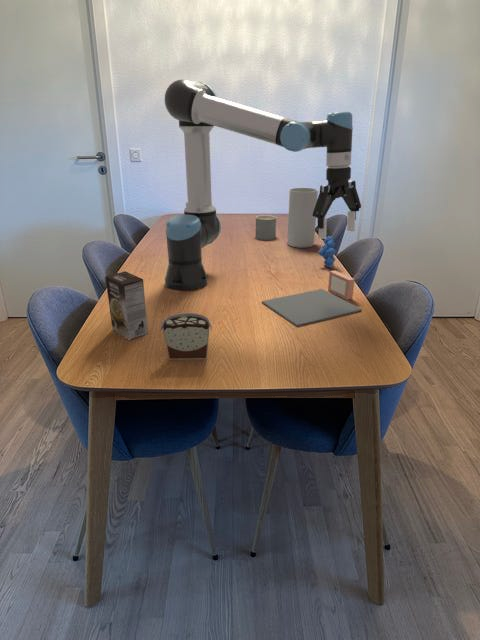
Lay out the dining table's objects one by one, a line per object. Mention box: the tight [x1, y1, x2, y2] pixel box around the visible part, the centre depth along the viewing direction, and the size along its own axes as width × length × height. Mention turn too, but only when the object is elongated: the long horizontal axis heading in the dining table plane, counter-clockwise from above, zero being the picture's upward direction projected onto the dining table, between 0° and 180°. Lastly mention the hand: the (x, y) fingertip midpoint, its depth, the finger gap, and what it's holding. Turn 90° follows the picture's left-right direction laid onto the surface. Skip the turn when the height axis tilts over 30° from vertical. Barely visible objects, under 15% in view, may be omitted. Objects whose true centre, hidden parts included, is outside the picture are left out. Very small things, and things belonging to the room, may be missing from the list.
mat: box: [261, 288, 363, 328], centre depth 136 cm, size 24×20×1 cm
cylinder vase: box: [286, 187, 319, 249], centre depth 199 cm, size 12×12×25 cm
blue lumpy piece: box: [318, 235, 337, 269], centre depth 172 cm, size 12×7×12 cm, turn 4°
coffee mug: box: [255, 214, 277, 241], centre depth 216 cm, size 13×10×10 cm
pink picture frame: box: [327, 270, 356, 301], centre depth 145 cm, size 10×2×7 cm, turn 28°
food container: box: [160, 312, 213, 361], centre depth 108 cm, size 12×6×10 cm, turn 92°
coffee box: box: [104, 270, 149, 340], centre depth 117 cm, size 9×6×16 cm
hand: (336, 234), depth 144 cm, fingers open, 13 cm apart
